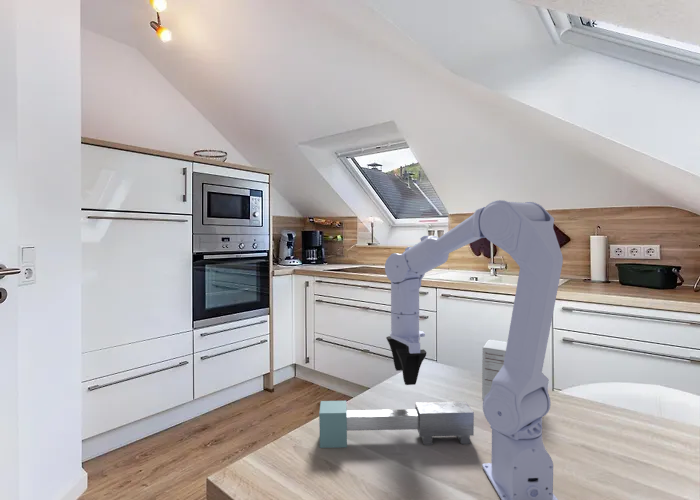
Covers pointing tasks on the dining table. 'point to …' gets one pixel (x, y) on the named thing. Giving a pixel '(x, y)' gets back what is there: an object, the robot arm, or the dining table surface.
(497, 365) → the supplement box
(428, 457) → the dining table surface
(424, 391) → the dining table surface
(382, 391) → the dining table surface
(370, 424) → the extension bar
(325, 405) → the socket
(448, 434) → the sleeve
